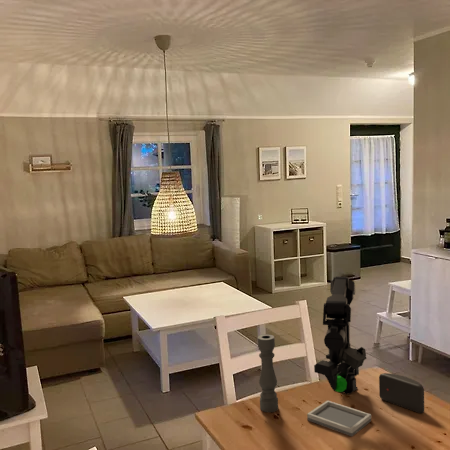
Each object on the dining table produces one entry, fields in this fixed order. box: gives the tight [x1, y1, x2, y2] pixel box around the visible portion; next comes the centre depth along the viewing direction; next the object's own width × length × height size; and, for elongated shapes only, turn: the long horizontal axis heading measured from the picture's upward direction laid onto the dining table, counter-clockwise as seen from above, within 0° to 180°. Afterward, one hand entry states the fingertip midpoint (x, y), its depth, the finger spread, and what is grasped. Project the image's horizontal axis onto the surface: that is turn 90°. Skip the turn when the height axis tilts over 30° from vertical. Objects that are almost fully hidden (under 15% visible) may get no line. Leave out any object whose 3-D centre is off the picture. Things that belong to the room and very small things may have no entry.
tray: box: [306, 400, 372, 437], centre depth 159 cm, size 16×12×2 cm
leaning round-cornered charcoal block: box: [378, 372, 425, 414], centre depth 167 cm, size 16×5×9 cm, turn 39°
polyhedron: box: [334, 376, 347, 393], centre depth 158 cm, size 5×5×5 cm
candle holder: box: [257, 334, 279, 413], centre depth 169 cm, size 6×6×25 cm
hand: (338, 386), depth 158 cm, fingers closed on polyhedron, 5 cm apart
